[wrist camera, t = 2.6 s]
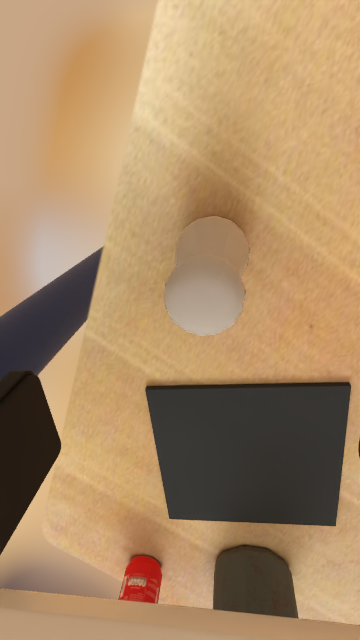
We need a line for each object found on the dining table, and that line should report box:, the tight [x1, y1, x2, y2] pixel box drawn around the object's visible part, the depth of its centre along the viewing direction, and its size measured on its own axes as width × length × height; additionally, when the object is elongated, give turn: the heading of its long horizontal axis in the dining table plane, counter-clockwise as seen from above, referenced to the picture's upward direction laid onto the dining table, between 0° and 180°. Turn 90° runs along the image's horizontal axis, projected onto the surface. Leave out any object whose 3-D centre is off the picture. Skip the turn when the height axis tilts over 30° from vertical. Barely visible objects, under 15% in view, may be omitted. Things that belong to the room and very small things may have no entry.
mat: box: [146, 382, 351, 526], centre depth 38 cm, size 20×20×1 cm
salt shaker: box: [165, 216, 250, 336], centre depth 23 cm, size 6×6×13 cm
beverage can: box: [118, 555, 162, 604], centre depth 44 cm, size 5×5×12 cm
